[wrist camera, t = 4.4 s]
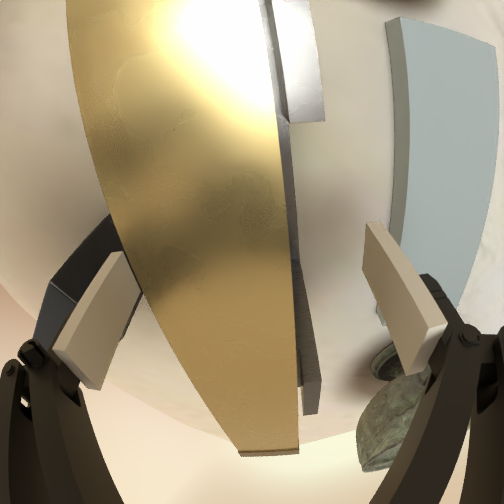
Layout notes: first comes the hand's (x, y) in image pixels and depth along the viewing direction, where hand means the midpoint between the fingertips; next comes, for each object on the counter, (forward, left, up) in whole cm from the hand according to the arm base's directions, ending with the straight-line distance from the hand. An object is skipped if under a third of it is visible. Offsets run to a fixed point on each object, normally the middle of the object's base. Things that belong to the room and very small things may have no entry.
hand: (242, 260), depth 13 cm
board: (+17, -1, -9) cm, 19 cm away
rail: (0, 0, +1) cm, 1 cm away
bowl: (+19, -26, -10) cm, 34 cm away
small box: (-14, -5, -10) cm, 18 cm away
